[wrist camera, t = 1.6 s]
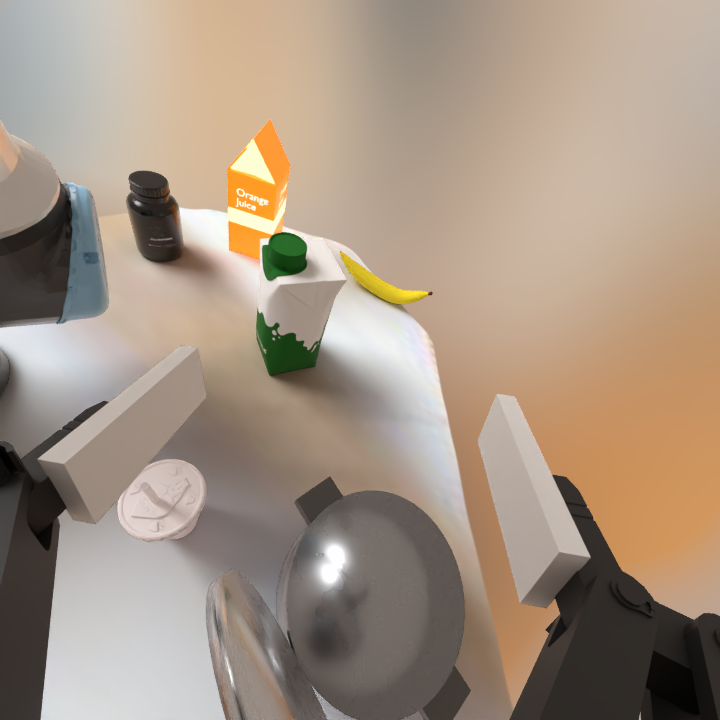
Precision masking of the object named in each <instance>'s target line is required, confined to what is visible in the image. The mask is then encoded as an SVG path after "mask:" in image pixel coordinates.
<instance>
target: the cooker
mask: <svg viewBox="0 0 720 720" xmlns="http://www.w3.org/2000/svg"><path fill="white" fill-rule="evenodd" d="M295 505H296V506H297V508H298V510H299V511H300V513H301V515H302V516H303V518H304V520H305V522H306V523H307V525H308V524H309V523H311V522H312V521H313V520H314V521H313V522H312V523H311V524H310V525H309V526H308V527H307V528H306V529H305V530H304V532H303V533H302V534H301V535H300V536H299V537H298V538H297V540H296V541H295V543H294V544H293V546H292V547H291V549H290V551H289V553H288V555H287V557H286V559H285V562H284V564H283V567H282V570H281V574H280V577H279V582H278V588H277V599H276V609H277V620H278V624H279V626H280V628H281V630H282V631H283V633H284V635H285V637H286V638H287V640H288V642H289V644H290V646H291V647H292V649H293V651H294V653H295V655H296V657H297V659H298V661H299V663H300V664H301V666H302V668H303V670H304V672H305V674H306V676H307V678H308V680H309V682H310V684H311V685H312V686H313V687H314V688H315V689H316V691H317V692H318V693H319V694H320V695H321V696H322V697H323V698H324V699H325V700H327V701H328V702H329V703H330V704H331V705H332V706H333V707H335V708H336V709H338V710H339V711H341V712H343V713H344V714H346V715H348V716H351V717H353V718H356V719H358V720H401V719H403V718H405V717H408V716H410V715H412V714H414V713H415V712H417V711H419V712H420V714H421V716H422V717H423V719H424V720H453V719H454V717H455V715H456V714H457V712H458V711H459V709H460V707H461V706H462V704H463V702H464V701H465V699H466V698H467V696H468V694H469V693H470V691H471V690H470V689H469V687H468V685H467V684H466V682H465V681H464V679H463V678H462V676H461V675H460V673H459V672H458V670H457V669H456V667H455V666H454V664H455V662H456V659H457V656H458V653H459V649H460V646H461V641H462V636H463V630H464V617H465V611H464V594H463V586H462V581H461V577H460V572H459V569H458V566H457V563H456V560H455V557H454V555H453V553H452V550H451V548H450V546H449V544H448V542H447V540H446V539H445V537H444V535H443V534H442V532H441V531H440V529H439V528H438V527H437V525H436V524H435V523H434V522H433V521H432V519H431V518H430V517H429V516H428V515H427V514H426V513H425V512H424V511H422V510H421V509H420V508H419V507H417V506H416V505H415V504H413V503H411V502H410V501H408V500H406V499H404V498H402V497H400V496H398V495H395V494H391V493H388V492H382V491H362V492H357V493H353V494H350V495H347V496H345V497H343V496H342V494H341V493H340V491H339V489H338V488H337V486H336V485H335V483H334V482H333V480H332V479H331V477H328V478H327V479H325V480H324V481H323V482H321V483H320V484H318V485H317V486H315V487H314V488H312V489H311V490H310V491H308V492H307V493H305V494H304V495H302V496H301V497H299V498H298V499H297V500H296V501H295Z"/></svg>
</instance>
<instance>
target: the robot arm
mask: <svg viewBox="0 0 720 720" xmlns="http://www.w3.org/2000/svg"><path fill="white" fill-rule="evenodd" d="M108 304H109V292H108V282H107V274H106V267H105V260H104V253H103V247H102V240H101V235H100V229H99V223H98V217H97V212H96V207H95V202H94V199H93V196H92V194H91V192H90V190H88V189H87V188H86V187H84V186H80V185H75V184H73V183H72V182H65V183H64V184H61V182H60V180H59V178H58V176H57V173H56V171H55V170H54V168H53V167H52V165H51V163H50V162H49V160H48V159H47V158H46V157H45V156H44V155H43V154H42V153H41V152H39V151H38V150H37V149H36V148H34V147H33V146H31V145H30V144H28V143H27V142H25V141H23V140H22V139H20V138H18V137H16V136H14V135H11V134H9V133H8V132H7V130H6V129H5V127H4V125H3V123H2V121H1V119H0V328H1V327H14V326H26V325H38V324H51V323H57V324H63V323H65V322H67V321H70V320H78V319H85V318H93V317H97V316H99V315H101V314H103V313H104V312H105V311H106V309H107V308H108ZM9 373H10V368H9V362H8V359H7V357H6V355H5V354H4V353H3V351H2V350H1V349H0V395H1V394H2V392H3V391H4V389H5V387H6V385H7V382H8V379H9ZM206 397H207V396H206V390H205V385H204V379H203V373H202V368H201V362H200V356H199V351H198V347H192V346H185V345H181V346H179V347H178V348H177V349H176V350H174V351H173V352H172V353H170V354H169V355H168V356H167V357H165V358H164V359H163V360H162V361H160V362H159V363H158V364H157V365H155V366H154V367H153V368H152V369H150V370H149V371H148V372H147V373H145V374H144V375H143V376H141V377H140V378H139V379H138V380H136V381H135V382H134V383H133V384H131V385H130V386H129V387H128V388H126V389H125V390H124V391H123V392H121V393H120V394H119V395H118V396H116V397H115V398H114V399H112V400H111V401H110V402H107V401H103V402H101V403H99V404H96V405H94V406H92V407H90V408H88V409H86V410H85V411H84V412H82V413H81V414H80V415H78V416H77V417H76V418H74V420H73V421H70V422H69V423H68V424H67V425H65V426H64V427H63V429H62V430H59V431H57V432H56V433H55V434H53V435H52V436H51V437H49V438H48V439H47V440H45V441H44V442H43V443H42V444H40V445H39V446H38V447H36V448H35V449H34V450H32V451H31V452H30V453H28V454H27V455H26V456H24V457H23V458H22V459H20V458H19V456H18V454H17V453H16V451H15V450H14V448H13V446H12V445H10V444H9V443H7V442H0V720H40V719H41V709H42V699H43V689H44V679H45V668H46V658H47V648H48V638H49V628H50V618H51V608H52V598H53V588H54V578H55V568H56V558H57V548H58V538H59V528H60V524H59V520H58V518H57V517H58V516H59V515H60V514H61V513H62V512H63V511H64V510H65V509H67V511H68V512H69V514H70V516H71V517H72V519H73V520H76V521H82V522H87V523H92V524H97V522H98V521H99V520H100V519H101V518H102V517H103V516H104V514H105V513H106V512H107V511H108V510H109V509H110V507H111V506H112V505H113V504H114V503H115V502H116V501H117V499H118V498H119V497H120V496H121V495H122V494H123V492H124V491H125V490H126V489H127V488H128V487H129V486H130V484H131V483H132V482H133V481H134V480H135V479H136V477H137V476H138V475H139V474H140V473H141V472H142V471H143V469H144V468H145V467H146V466H147V465H148V464H149V463H150V461H151V460H152V459H153V458H154V457H155V456H156V454H157V453H158V452H159V451H160V450H161V449H162V448H163V446H164V445H165V444H166V443H167V442H168V441H169V439H170V438H171V437H172V436H173V435H174V434H175V433H176V431H177V430H178V429H179V428H180V427H181V426H182V424H183V423H184V422H185V421H186V420H187V419H188V418H189V416H190V415H191V414H192V413H193V412H194V411H195V409H196V408H197V407H198V406H199V405H200V404H201V403H202V401H203V400H204V399H205V398H206ZM478 444H479V447H480V451H481V455H482V459H483V463H484V467H485V471H486V475H487V478H488V482H489V486H490V490H491V494H492V498H493V501H494V505H495V509H496V513H497V517H498V520H499V524H500V528H501V531H502V536H503V540H504V544H505V547H506V552H507V555H508V559H509V563H510V567H511V571H512V574H513V578H514V582H515V586H516V590H517V594H518V598H519V602H520V603H521V604H527V605H532V606H537V607H543V608H547V607H548V606H549V605H550V603H551V602H552V601H553V600H554V599H556V602H557V605H558V608H559V611H560V615H559V616H558V617H557V618H556V619H555V620H554V621H553V622H552V623H551V624H550V625H549V627H548V628H547V629H546V631H547V632H548V633H549V635H548V637H547V639H546V641H545V644H544V646H543V648H542V650H541V652H540V654H539V657H538V659H537V661H536V663H535V665H534V667H533V670H532V672H531V674H530V676H529V678H528V680H527V683H526V685H525V687H524V689H523V691H522V693H521V696H520V698H519V700H518V702H517V704H516V707H515V709H514V711H513V713H512V715H511V717H510V719H509V720H639V714H640V711H641V720H720V616H718V615H716V614H711V613H704V614H702V615H701V616H699V617H698V618H696V619H695V620H693V619H691V618H689V617H687V616H685V615H683V614H680V613H678V612H676V611H674V610H672V609H670V608H668V607H665V606H664V605H661V604H659V603H658V602H656V601H654V599H653V598H652V596H651V595H650V594H649V593H648V592H647V590H646V589H645V588H644V586H642V585H641V584H640V583H639V582H638V581H637V580H635V579H634V578H633V577H631V576H630V575H628V574H626V573H624V572H623V571H622V570H621V568H620V567H619V565H618V563H617V561H616V559H615V557H614V556H613V554H612V552H611V550H610V548H609V546H608V544H607V542H606V541H605V539H604V537H603V535H602V533H601V531H600V529H599V528H598V526H597V524H596V522H595V521H594V520H593V516H592V514H591V512H590V511H589V509H588V508H587V505H586V503H585V501H584V500H583V497H582V496H581V494H580V492H579V491H578V489H577V488H576V487H575V486H574V485H573V484H572V483H571V482H570V481H569V480H568V479H567V477H563V476H557V475H552V474H551V472H550V470H549V468H548V466H547V464H546V462H545V459H544V457H543V455H542V453H541V451H540V449H539V447H538V444H537V442H536V441H535V438H534V436H533V434H532V432H531V430H530V428H529V425H528V423H527V421H526V419H525V417H524V415H523V413H522V411H521V408H520V407H519V404H518V402H517V400H516V398H515V397H514V396H507V395H501V394H496V397H495V399H494V402H493V404H492V407H491V409H490V412H489V414H488V417H487V419H486V422H485V424H484V426H483V429H482V431H481V434H480V436H479V439H478Z"/></svg>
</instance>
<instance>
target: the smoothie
mask: <svg viewBox="0 0 720 720" xmlns="http://www.w3.org/2000/svg"><path fill="white" fill-rule="evenodd" d="M206 496H207V489H206V483H205V480H204V478H203V476H202V475H201V473H200V472H199V470H198V469H197V468H196V467H195V466H193V465H192V464H190V463H188V462H186V461H183V460H178V459H166V460H160V461H157V462H154V463H151V464H149V465H147V466H146V467H145V468H144V469H143V471H142V472H141V473H140V474H139V475H138V476H137V477H136V479H135V480H134V481H133V482H132V483H131V484H130V486H129V487H128V488H127V489H126V490H125V491H124V492H123V494H122V495H121V496H120V497H119V500H118V506H117V513H118V518H119V521H120V523H121V525H122V526H123V528H124V529H125V530H126V531H127V532H128V533H129V534H130V535H132V536H133V537H135V538H136V539H139V540H143V541H147V542H155V541H163V540H166V539H180V538H183V537H185V536H186V535H188V534H189V533H190V532H191V531H192V530H193V529H194V528H195V526H196V524H197V522H198V518H199V515H200V513H201V511H202V509H203V507H204V505H205V501H206Z"/></svg>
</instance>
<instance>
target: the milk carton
mask: <svg viewBox="0 0 720 720" xmlns="http://www.w3.org/2000/svg"><path fill="white" fill-rule="evenodd" d="M346 280H347V279H346V277H345V275H344V274H343V272H342V270H341V268H340V266H339V265H338V263H337V261H336V259H335V258H334V256H333V254H332V252H331V251H330V249H329V247H328V245H327V244H326V242H325V240H324V238H304V237H299V236H297V235H294V234H291V233H287V232H280V233H275V234H273V235H272V236H271V237H270V238H263V239H260V281H259V296H258V310H257V324H256V335H257V341H258V344H259V347H260V350H261V353H262V356H263V359H264V361H265V364H266V367H267V370H268V373H269V375H275V374H279V373H284V372H289V371H294V370H298V369H303V368H308V367H313V366H315V363H316V359H317V356H318V352H319V348H320V344H321V340H322V336H323V333H324V330H325V327H326V324H327V321H328V318H329V315H330V312H331V308H332V305H333V302H334V299H335V297H336V295H337V294H338V292H339V291H340V289H341V288H342V286H343V285H344V283H345V282H346Z"/></svg>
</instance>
